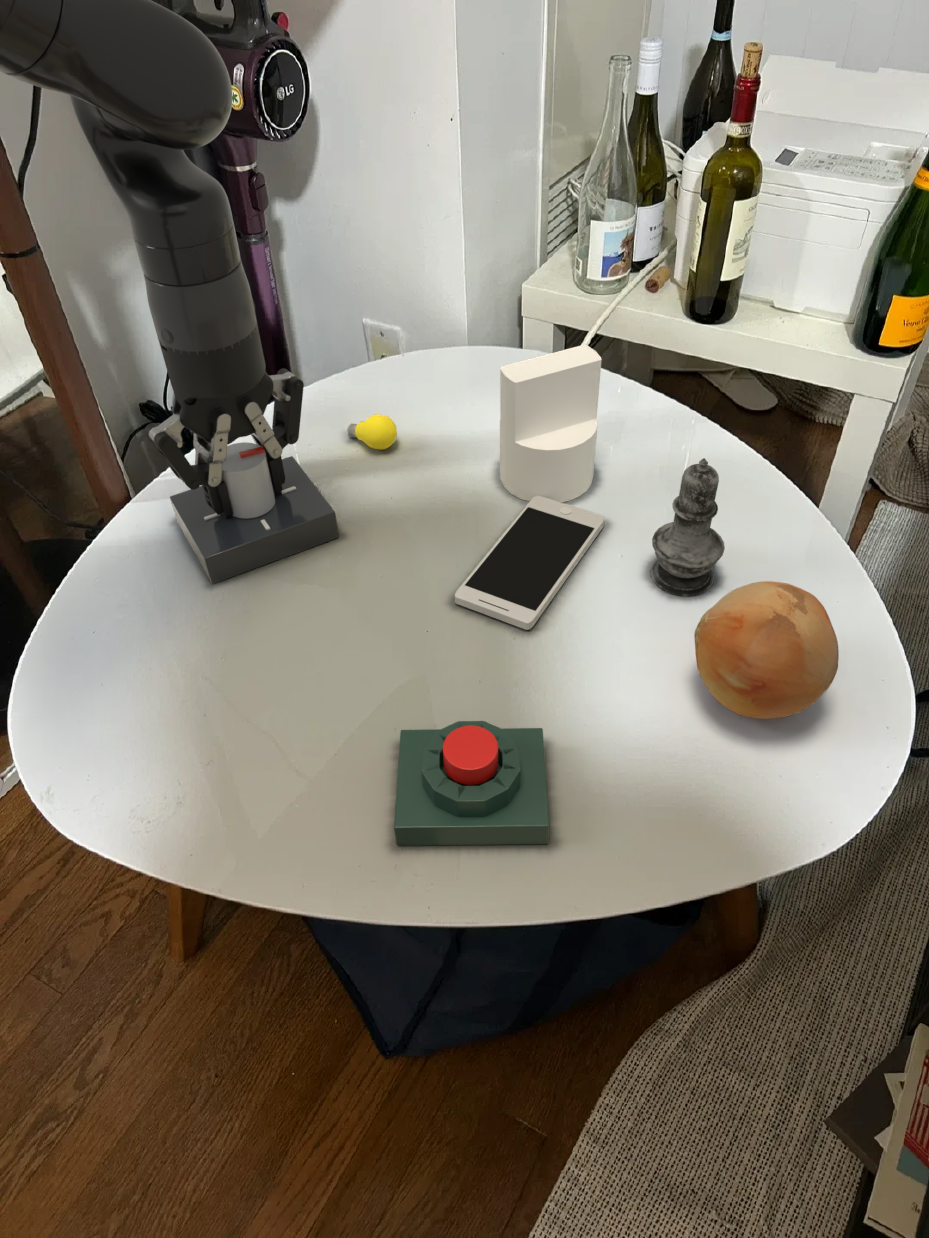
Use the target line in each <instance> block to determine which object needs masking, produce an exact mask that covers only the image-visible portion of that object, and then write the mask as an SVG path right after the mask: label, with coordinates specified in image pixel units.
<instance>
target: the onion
mask: <svg viewBox="0 0 929 1238" xmlns="http://www.w3.org/2000/svg"><path fill="white" fill-rule="evenodd" d="M693 638H694V650H695V662H696V663H695V664H696V667H697V672H698V674H699V676H700V678H701V681H702V682H703V684H704V685H705V687H706V689H707V691H709V693H710V694H711V696H713V697H714V698H715V700H716V701H717V702H718V703H719V704H721V705H722V706H723V707H725V708H726V709H727V710H728V711H729V710H730V711H731V712H733V713H734V714H737V715H739V716H743V717H747V718H752V719H763V720H767V719H780V718H786V717H790V716H794V715H796V714H799V713H801V712H803V711H804V710H806V709H808V708H810V707H811V706H812V705H813V704H815V703H816V702H817V701H818V700H819V699H820V698H821V697H822V696H823V694H824V693H825V692H826V691H828V689H829V688H830V687H831V686H832V683H833V682H834V680H835V677H836V675H837V672H838V668H839V659H840V657H839V655H840V654H839V650H840V649H839V643H838V637H837V635H836V631H835V628H834V626H833V624H832V622H831V619H830V617H829V614H828V611H827V610H826V608H825V606H824V604H822V602H821V601H820V600H819V599H818V598H817V597H816V596H815V595H814V594H813V593H811V592H809V591H807V590H806V589H803V588H801V587H798V586H796V585H793V584H790V583H786V582H780V581H773V580H772V581H770V580H764V581H756V582H752V583H748V584H745V585H741V586H740V587H737V588H735V589H733V590H730V591H729V592H728V593H727V594H725V595H723V596H722V597H721V598H720V599H719V600H718V601H717V602H716V603H715V604H714V605H712V607H710V608H709V609H707V610H706V611H705V613H704V614H703V615H702V616H701V618H700V619H699V621H698V623H697V625H696V628H695V630H694V637H693Z"/></svg>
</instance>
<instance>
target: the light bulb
mask: <svg viewBox="0 0 929 1238" xmlns="http://www.w3.org/2000/svg"><path fill="white" fill-rule="evenodd" d="M346 431H347V435H348V436H349V437H350V438H354V439H355V438H357V439H358V440H359V441H362V442H363V443H364V444H365V445H367V446H368V447H369V448H371V449H375V450H380V451H381V450H387V449H388V448H389V447H391V446H392V445H393V444H394V443H395V441H396V438H397V435H398V430H397V425H396V423H395V422H394V420H393V419H392V418H391V417H390V416H387V415H383V414H379V413H376V414H372V415H371V416H369V417H368V418H366V419H365V420H362V421H359V422H358V423H349V425H348V426H347V429H346Z"/></svg>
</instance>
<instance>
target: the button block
mask: <svg viewBox="0 0 929 1238" xmlns="http://www.w3.org/2000/svg"><path fill="white" fill-rule="evenodd" d="M463 726H479V727H482V728H484V729H486V730H488V731H489V732H491V733H492V734H493V735H494V737H495V738H496V740H497V743H498V768H497V770H496V772H495V774H494V775H493V776H492V777H491V778H490V779H489V780H487V781H486V782H484V783H481V784H478V785H464V784H460V783H458V782H456V781H454V780H453V779H451V778H450V777H449V775H448V774H447V773H446V771H445V768H444V759H443V744H444V741H445V739H446V737H447V736H448V735H449V734H450V733H451V732H452V731H454V730H455V729H457V728H460V727H463ZM544 742H545V741H544V729H543V727H515V728H513V727H511V728H510V727H508V728H504V727H503V728H501V727H498V726H496V725H495V724H491V723H489V722H487V721H485V720H458V721H455V722H453V723H451V724H449V725H447V726H445V727H443V728H440V729H439V728H438V729H435V728H434V729H433V728H432V729H431V728H430V729H429V728H428V729H401V730H400V732H399V748H398V764H397V777H396V794H395V807H394V821H393V830H394V837H395V843H396V846H402V847H403V846H479V845H480V846H484V845H485V846H486V845H487V846H488V845H491V846H492V845H548V844H549V838H550V837H549V836H550V815H549V814H550V812H549V801H548V785H547V771H546V770H547V769H546V758H545V743H544Z"/></svg>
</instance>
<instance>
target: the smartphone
mask: <svg viewBox="0 0 929 1238" xmlns="http://www.w3.org/2000/svg"><path fill="white" fill-rule="evenodd" d="M605 518H606V517H605V515H603V514H600V513H596V512H593V511H589V510H586V509H583V508H580V507H577V506H573V505H571V504H567V503H565V502H558V501H555V500H551V499H548V498H545V497H542V496H539V495H537V496H534V497H533V498H532V499H531V500H530V502H529V501H528V502H527V504H526V505H525V506H524V507H523V509H522V510H521V511H520V513H519V514H518V515H517V516H516V518H515V519H513V521H512V522H511V523H510V525H508V528H506V530H505V531H504V532H503V533H502V534H501V536H500V537H499V538H498V540H496V542H495V543H494V544H493V545H492V547H491V548H490V549H489V550H488V552H487V553H486V554H485V555H484V557H483V558H482V559H481V560H480V562H479V563H478V564H477V565H476V567H474V569H473V570H472V572H471V573H470V574H469V575H468V576H467V578H466V579H465V580H464V581H463V582H462V584H461V585H460V586H459V587H458V588H457V590H456V591H455V593H454V603H455V604H456V605H459V606H461V607H464V608H466V609H469V610H471V611H475V612H478V613H480V614H483V615H486V616H488V617H490V618H494V619H496V620H499V621H502V622H504V623H507V624H510V625H512V626H515V627H517V628H520V629H523V630H525V631H526V630H527V631H528V630H529V631H530V630H531V629H532V628H533V627H534V626H535V624H536V623H537V622H538V620H539V619H540V617H541V616H542V615H543V613H544V612H545V610H546V609H547V607H548V606H549V604H550V603H551V602H552V600H554V598H555V596H556V595H557V593H558V592H559V590H560V589H561V588H562V586H563V585H564V583H565V582H566V580H567V579H568V578H569V576H570V575H571V573H572V572H573V571H574V569H575V568H576V566H577V565H578V563H579V562H580V561H581V559H582V558H583V557H584V555H585V554H586V552H587V551H588V549H589V548H590V547H591V545H592V544H593V542H594V541H595V539H596V537H598V535H599V534H600V532H601V531H602V529H603V528H604V527H605Z"/></svg>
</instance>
